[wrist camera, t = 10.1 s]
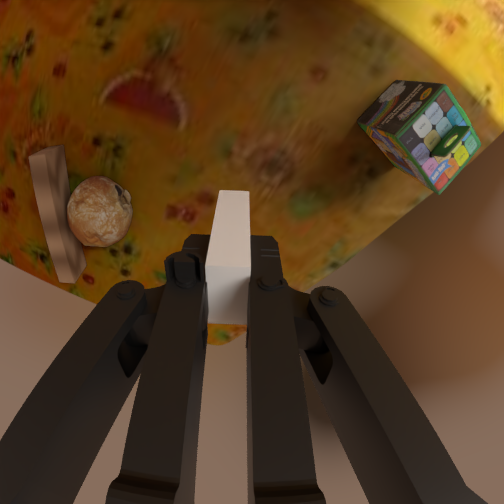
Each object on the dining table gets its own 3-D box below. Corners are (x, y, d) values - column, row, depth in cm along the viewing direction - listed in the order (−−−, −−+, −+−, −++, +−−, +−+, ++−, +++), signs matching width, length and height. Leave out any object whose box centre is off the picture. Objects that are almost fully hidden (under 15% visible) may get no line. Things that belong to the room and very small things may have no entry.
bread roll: (146, 208, 44) (148, 214, 37) (103, 256, 43) (97, 272, 36) (102, 163, 40) (95, 161, 33) (58, 214, 39) (44, 222, 32)
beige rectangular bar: (47, 147, 34) (28, 156, 30) (63, 144, 34) (45, 154, 30) (72, 264, 44) (59, 282, 40) (86, 265, 45) (74, 283, 40)
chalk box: (394, 167, 38) (454, 211, 26) (353, 121, 35) (410, 146, 22) (434, 125, 35) (503, 155, 22) (397, 76, 31) (467, 84, 19)
